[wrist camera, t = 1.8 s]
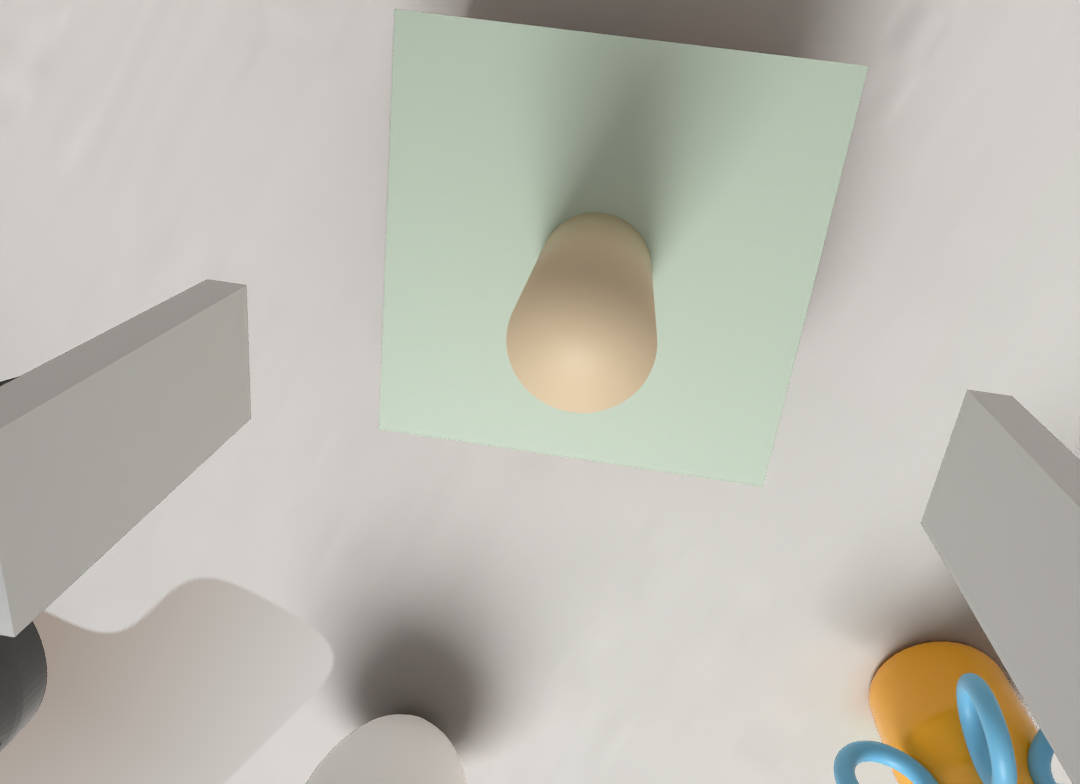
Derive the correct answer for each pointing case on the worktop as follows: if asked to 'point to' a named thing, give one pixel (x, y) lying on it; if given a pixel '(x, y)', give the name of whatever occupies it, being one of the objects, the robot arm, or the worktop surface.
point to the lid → (603, 240)
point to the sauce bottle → (392, 755)
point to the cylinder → (948, 722)
